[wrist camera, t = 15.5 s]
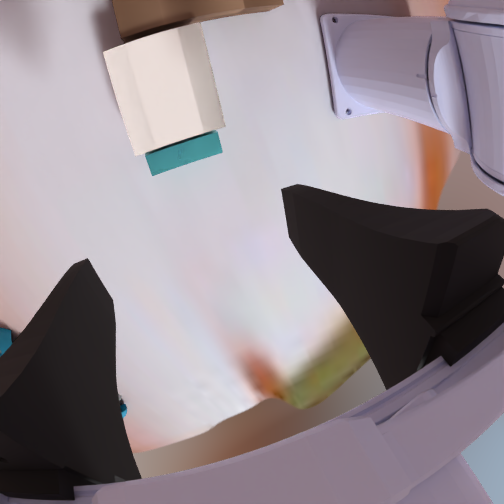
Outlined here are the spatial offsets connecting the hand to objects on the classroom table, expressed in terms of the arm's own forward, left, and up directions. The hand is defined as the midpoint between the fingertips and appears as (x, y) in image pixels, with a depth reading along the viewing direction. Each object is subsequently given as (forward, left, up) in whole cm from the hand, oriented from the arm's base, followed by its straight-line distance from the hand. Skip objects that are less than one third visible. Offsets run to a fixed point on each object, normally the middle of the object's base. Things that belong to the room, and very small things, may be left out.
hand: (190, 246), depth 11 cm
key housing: (-1, -5, -10) cm, 12 cm away
